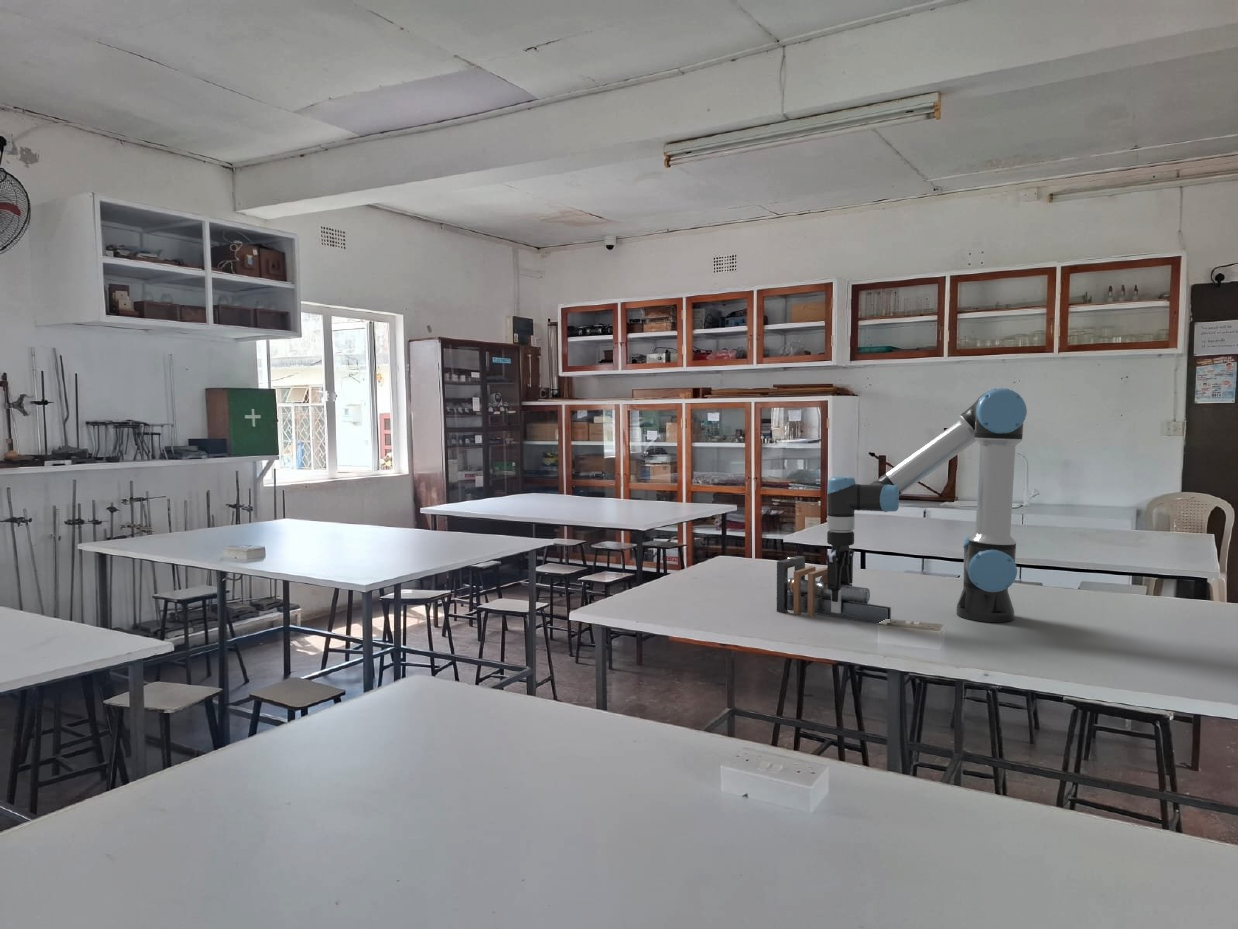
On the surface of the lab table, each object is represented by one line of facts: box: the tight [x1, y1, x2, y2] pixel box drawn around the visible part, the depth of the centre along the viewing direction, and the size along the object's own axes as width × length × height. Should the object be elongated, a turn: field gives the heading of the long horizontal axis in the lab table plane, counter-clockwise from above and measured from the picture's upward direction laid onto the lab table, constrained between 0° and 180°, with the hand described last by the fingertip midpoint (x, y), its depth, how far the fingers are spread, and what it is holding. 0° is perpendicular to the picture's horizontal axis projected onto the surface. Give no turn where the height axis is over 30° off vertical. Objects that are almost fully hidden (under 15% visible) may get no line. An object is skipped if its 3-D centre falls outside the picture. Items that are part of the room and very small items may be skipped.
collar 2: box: [807, 567, 827, 618], centre depth 233 cm, size 2×11×12 cm, turn 140°
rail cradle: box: [788, 592, 892, 624], centre depth 230 cm, size 32×3×4 cm, turn 50°
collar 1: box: [793, 565, 817, 615], centre depth 236 cm, size 2×11×12 cm, turn 140°
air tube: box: [788, 577, 871, 604], centre depth 231 cm, size 24×4×4 cm, turn 50°
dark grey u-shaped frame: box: [776, 555, 806, 614], centre depth 239 cm, size 2×13×15 cm, turn 140°
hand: (839, 610), depth 229 cm, fingers closed on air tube, 4 cm apart
